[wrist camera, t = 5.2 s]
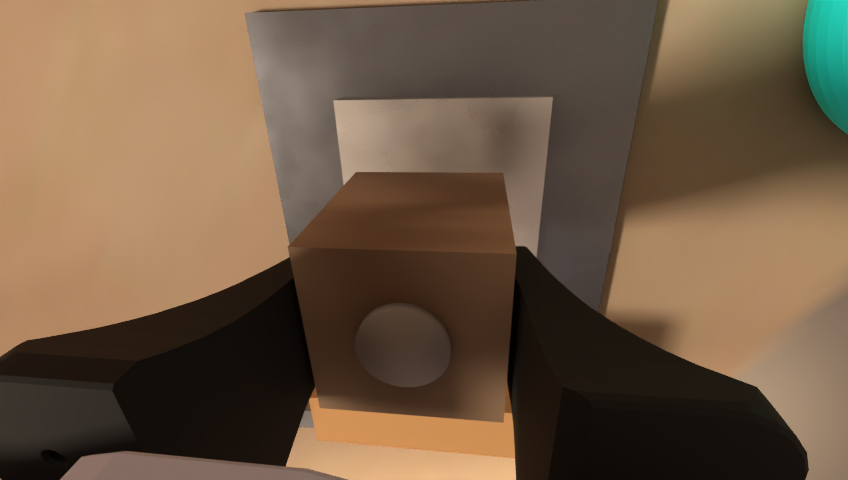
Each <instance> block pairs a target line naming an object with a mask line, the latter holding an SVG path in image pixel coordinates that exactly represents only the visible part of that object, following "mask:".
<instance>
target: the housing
mask: <svg viewBox="0 0 848 480" xmlns="http://www.w3.org/2000/svg"><path fill="white" fill-rule="evenodd" d="M288 250H289V255H290V261H291V266H292V271H293V276H294V281H295V286H296V291H297V296H298V301H299V306H300V311H301V316H302V321H303V326H304V331H305V336H306V342H307V347H308V352H309V357H310V362H311V367H312V372H313V377H314V382H315V387H316V392H317V397H318V402H319V407H320V408H325V409H337V410H350V411H363V412H375V413H388V414H401V415H413V416H426V417H439V418H451V419H464V420H477V421H489V422H502V423H504V411H505V398H506V385H507V372H508V359H509V346H510V334H511V321H512V308H513V295H514V282H515V269H516V256H517V253H516V247H515V241H514V235H513V229H512V223H511V217H510V211H509V205H508V199H507V193H506V187H505V181H504V175H503V173H446V172H356V173H355V174H354V175H353V176H352V177H351V178H350V179H349V180H348V181H347V182H346V184H345V185H344V186H343V187H342V188H341V189H340V190H339V191H338V192H337V193H336V195H335V196H334V197H333V198H332V199H331V200H330V201H329V202H328V203H327V204H326V206H325V207H324V208H323V209H322V210H321V211H320V212H319V213H318V214H317V215H316V217H315V218H314V219H313V220H312V221H311V222H310V223H309V224H308V225H307V226H306V228H305V229H304V230H303V231H302V232H301V233H300V234H299V235H298V236H297V237H296V239H295V240H294V241H293V242H292V243H291V244H290V245H289V246H288Z"/></svg>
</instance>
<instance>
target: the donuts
mask: <svg viewBox="0 0 848 480" xmlns="http://www.w3.org/2000/svg"><path fill="white" fill-rule="evenodd" d="M803 60H804V65H805V71H806V75H807V79H808V83H809V86H810V88H811V91H812V93H813V95H814V97H815V99H816V101H817V103H818V105H819V106H820V108H821V109H822V111H823V112H824V113H825V114H826V116H827V117H828V118H829V119H830V120H831V121H832V122H833V123H834V124H835V125H836V126H837V127H839V128H840V129H841V130H842V131H844V132H845V133H846V134H848V0H809V1H808V5H807V10H806V15H805V21H804V29H803Z"/></svg>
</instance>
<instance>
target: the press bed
mask: <svg viewBox="0 0 848 480" xmlns="http://www.w3.org/2000/svg"><path fill="white" fill-rule="evenodd" d="M657 4H658V0H534V1H511V2H488V3H464V4H441V5H418V6H394V7H371V8H348V9H324V10H301V11H277V12H254V13H245V18H246V23H247V28H248V33H249V38H250V43H251V48H252V54H253V59H254V64H255V69H256V74H257V79H258V84H259V90H260V95H261V100H262V105H263V110H264V115H265V120H266V125H267V131H268V136H269V141H270V146H271V151H272V156H273V161H274V166H275V172H276V177H277V182H278V187H279V192H280V197H281V202H282V207H283V213H284V218H285V223H286V228H287V233H288V238H289V243H290V244H291V243H292V242H293V241H294V240H295V239H296V237H297V236H298V235H299V234H300V233H301V232H302V231H303V230H304V229H305V228H306V226H307V225H308V224H309V223H310V222H311V221H312V220H313V219H314V218H315V217H316V215H317V214H318V213H319V212H320V211H321V210H322V209H323V208H324V207H325V206H326V204H327V203H328V202H329V201H330V200H331V199H332V198H333V197H334V196H335V195H336V193H337V192H338V191H339V190H340V189H341V188H342V187H343V186H344V185H345V184H346V182H347V181H348V180H349V179H350V178H351V177H352V176H353V175H354V174H355V173H356V172H446V173H503V175H504V181H505V187H506V193H507V199H508V205H509V211H510V217H511V223H512V229H513V235H514V241H515V246H526V247H527V248H528V249H529V250H530V251H531V252H532V253H533V255H534V256H535V257H536V258H537V259H538V260H539V261H540V262H541V263H542V264H543V265H544V267H545V268H546V269H547V270H548V271H549V272H550V273H551V274H552V275H553V276H554V277H555V278H556V279H557V280H558V281H560V282H561V283H562V284H563V285H564V286H565V287H566V288H567V289H568V290H570V291H571V292H572V293H573V294H574V295H576V296H577V297H578V298H579V299H580V300H582V301H583V302H584V303H586V304H587V305H588V306H590V307H591V308H592V309H594V310H595V311H597V312H599V307H600V302H601V297H602V291H603V286H604V281H605V276H606V270H607V265H608V260H609V255H610V250H611V244H612V239H613V234H614V229H615V224H616V218H617V213H618V208H619V203H620V197H621V192H622V187H623V182H624V177H625V171H626V166H627V161H628V156H629V150H630V145H631V140H632V135H633V130H634V124H635V119H636V114H637V109H638V104H639V98H640V93H641V88H642V83H643V77H644V72H645V67H646V62H647V57H648V51H649V46H650V41H651V36H652V30H653V25H654V20H655V15H656V10H657Z"/></svg>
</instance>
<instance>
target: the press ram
mask: <svg viewBox="0 0 848 480" xmlns="http://www.w3.org/2000/svg"><path fill="white" fill-rule="evenodd" d="M299 427H308V428H315V432H316V437H317V440H319V441H330V442H341V443H352V444H363V445H374V446H385V447H397V448H408V449H419V450H430V451H441V452H452V453H463V454H474V455H485V456H496V457H507V458H515V446H514V429H513V418H512V409H511V403H510V397H509V390H508V384H507V385H506V398H505V411H504V423H502V422H489V421H477V420H464V419H451V418H439V417H426V416H413V415H401V414H388V413H375V412H363V411H350V410H337V409H325V408H320V407H319V402H318V397H317V392H316V387H315V388H314V390H313V392H312V395H311V397H310V399H309V402H308V404H307V406H306V409H305V411H304V414H303V417H302V420H301V423H300V425H299Z"/></svg>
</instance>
